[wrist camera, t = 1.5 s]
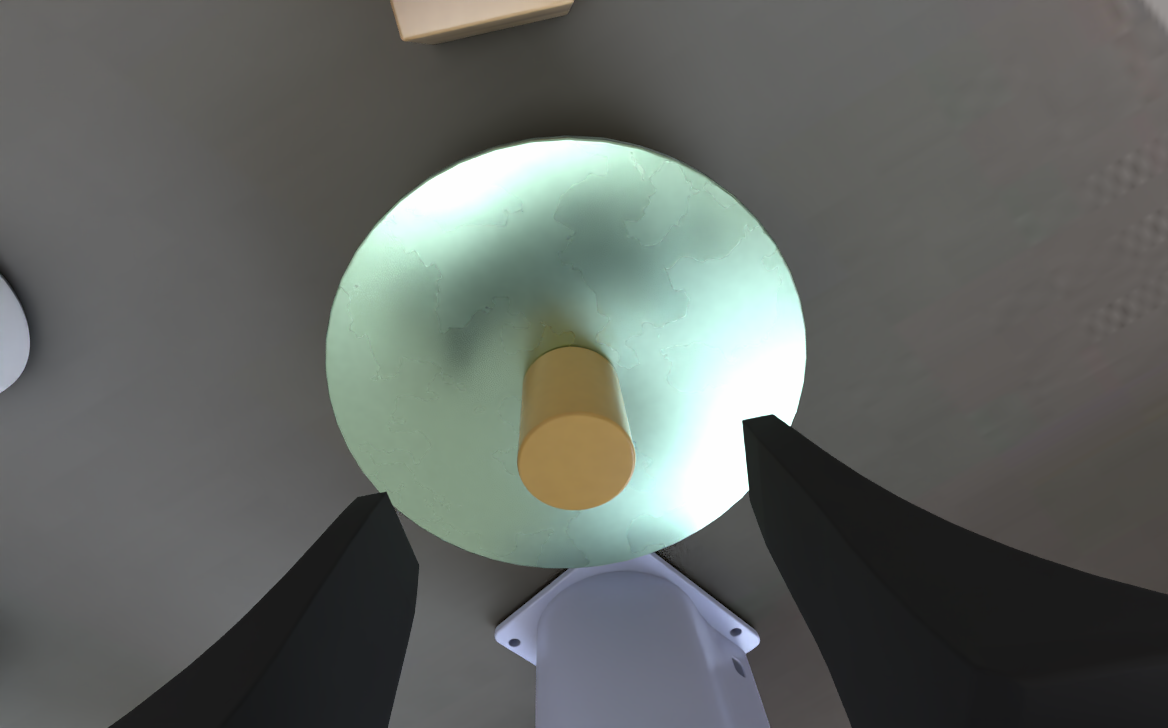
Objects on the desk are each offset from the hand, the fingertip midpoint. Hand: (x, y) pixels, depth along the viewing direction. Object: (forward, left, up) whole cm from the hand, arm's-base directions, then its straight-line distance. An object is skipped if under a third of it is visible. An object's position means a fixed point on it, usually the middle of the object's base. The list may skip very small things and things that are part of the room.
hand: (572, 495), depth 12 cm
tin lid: (0, 0, -5) cm, 5 cm away
